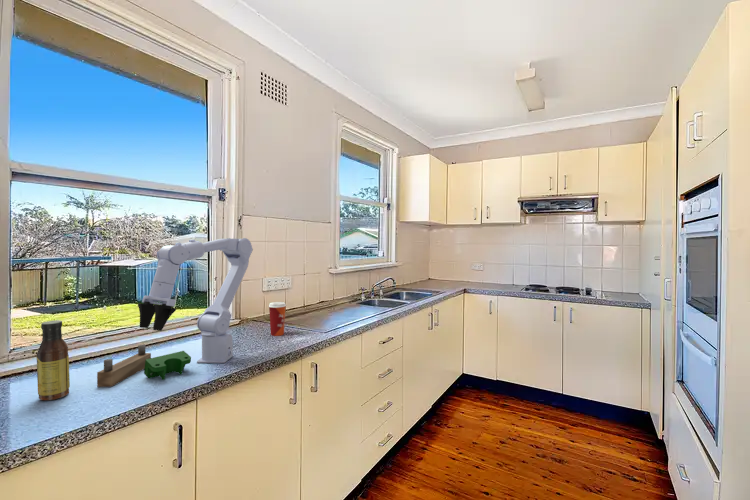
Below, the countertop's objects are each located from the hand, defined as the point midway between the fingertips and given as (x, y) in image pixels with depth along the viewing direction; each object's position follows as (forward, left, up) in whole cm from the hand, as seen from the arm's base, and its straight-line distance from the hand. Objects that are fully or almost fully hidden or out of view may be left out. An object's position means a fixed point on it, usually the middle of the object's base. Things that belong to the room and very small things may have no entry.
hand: (150, 329), depth 106 cm
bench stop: (+10, -4, -15) cm, 19 cm away
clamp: (-3, -4, -15) cm, 16 cm away
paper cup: (-23, -54, -15) cm, 61 cm away
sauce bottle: (+18, +12, -15) cm, 26 cm away
